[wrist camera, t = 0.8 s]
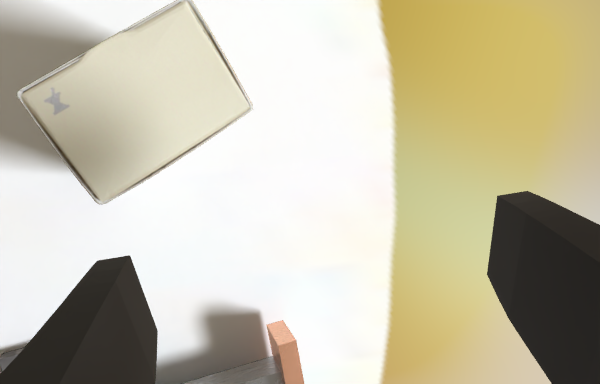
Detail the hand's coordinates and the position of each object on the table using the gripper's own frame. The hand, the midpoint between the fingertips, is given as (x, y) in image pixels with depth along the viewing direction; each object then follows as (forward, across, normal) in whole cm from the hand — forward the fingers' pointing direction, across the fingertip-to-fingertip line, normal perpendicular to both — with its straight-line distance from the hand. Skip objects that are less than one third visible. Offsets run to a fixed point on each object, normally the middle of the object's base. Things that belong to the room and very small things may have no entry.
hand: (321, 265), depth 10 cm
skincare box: (+19, +7, +4) cm, 21 cm away
